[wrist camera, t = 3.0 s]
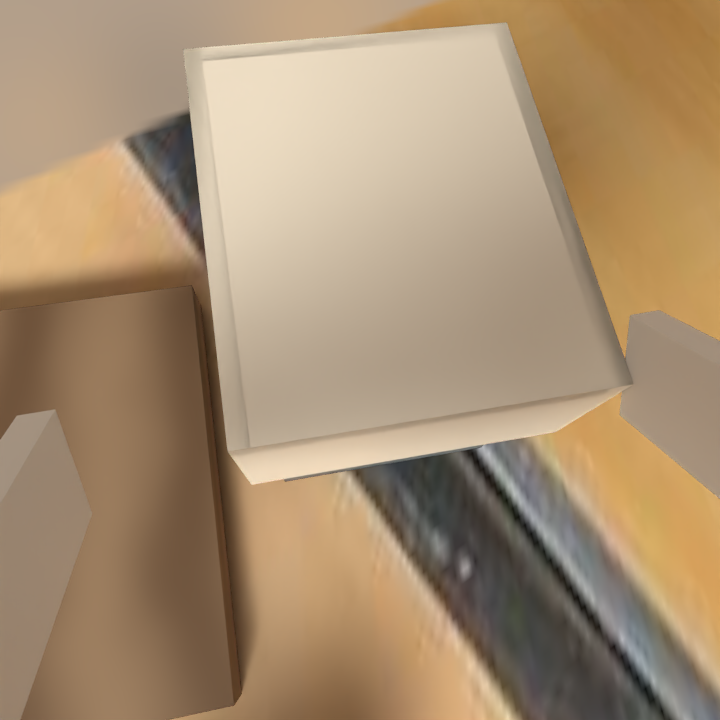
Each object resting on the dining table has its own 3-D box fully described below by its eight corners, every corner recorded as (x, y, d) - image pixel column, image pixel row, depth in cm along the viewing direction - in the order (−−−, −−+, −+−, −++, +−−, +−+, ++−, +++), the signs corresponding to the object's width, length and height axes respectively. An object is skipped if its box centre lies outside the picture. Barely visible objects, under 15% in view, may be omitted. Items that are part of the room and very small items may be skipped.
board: (201, 306, 26) (191, 285, 24) (241, 693, 21) (233, 705, 19) (-126, 351, 24) (-164, 332, 22) (-165, 781, 19) (-218, 803, 17)
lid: (467, 137, 23) (506, 22, 18) (555, 431, 19) (633, 384, 14) (212, 164, 21) (182, 49, 17) (251, 484, 18) (227, 451, 13)
